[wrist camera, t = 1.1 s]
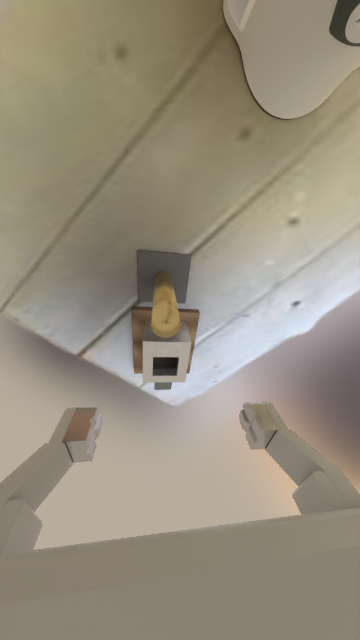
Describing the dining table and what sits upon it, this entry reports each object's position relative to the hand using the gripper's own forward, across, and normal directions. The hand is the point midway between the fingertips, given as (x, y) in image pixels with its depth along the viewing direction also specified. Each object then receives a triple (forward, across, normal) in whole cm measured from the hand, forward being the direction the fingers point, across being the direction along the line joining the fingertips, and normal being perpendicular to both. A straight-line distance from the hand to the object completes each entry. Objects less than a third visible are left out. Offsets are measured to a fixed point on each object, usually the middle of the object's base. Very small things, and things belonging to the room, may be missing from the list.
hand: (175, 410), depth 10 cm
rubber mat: (+26, 0, 0) cm, 26 cm away
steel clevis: (+24, -1, +15) cm, 28 cm away
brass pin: (+25, 0, 0) cm, 25 cm away
